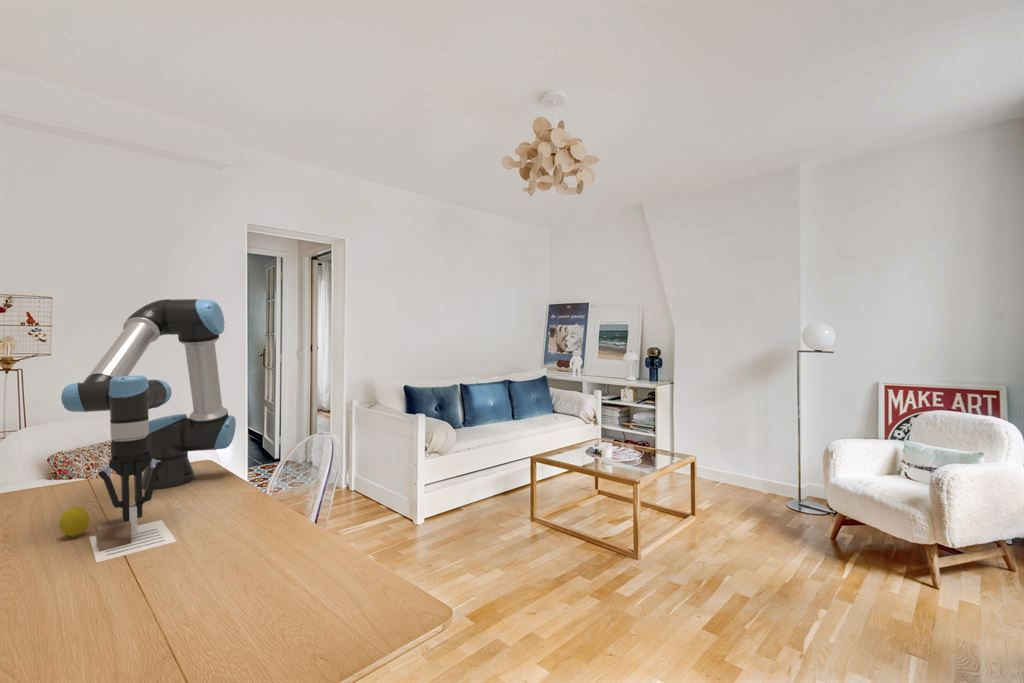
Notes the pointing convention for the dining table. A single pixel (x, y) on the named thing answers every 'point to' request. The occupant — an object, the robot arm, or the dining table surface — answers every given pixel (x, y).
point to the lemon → (74, 521)
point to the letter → (137, 541)
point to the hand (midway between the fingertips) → (133, 531)
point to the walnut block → (113, 534)
